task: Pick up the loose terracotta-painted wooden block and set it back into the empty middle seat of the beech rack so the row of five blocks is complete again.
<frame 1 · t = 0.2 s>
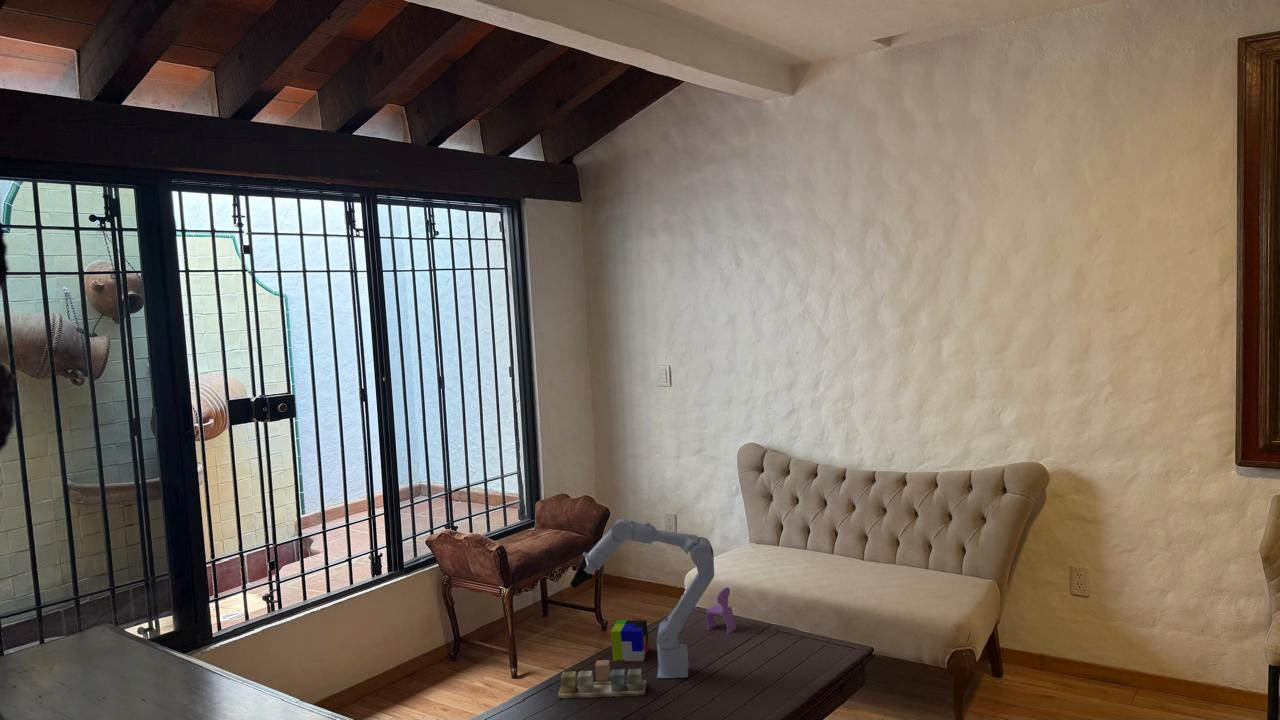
hand: (574, 582, 277), 30 cm above the table, tool tilted 45°, fingers open, 7 cm apart
toy chair: (721, 629, 310), on the table
rack: (602, 691, 267), on the table
puzzle toy: (631, 655, 293), on the table
terracotta block: (603, 678, 276), on the table
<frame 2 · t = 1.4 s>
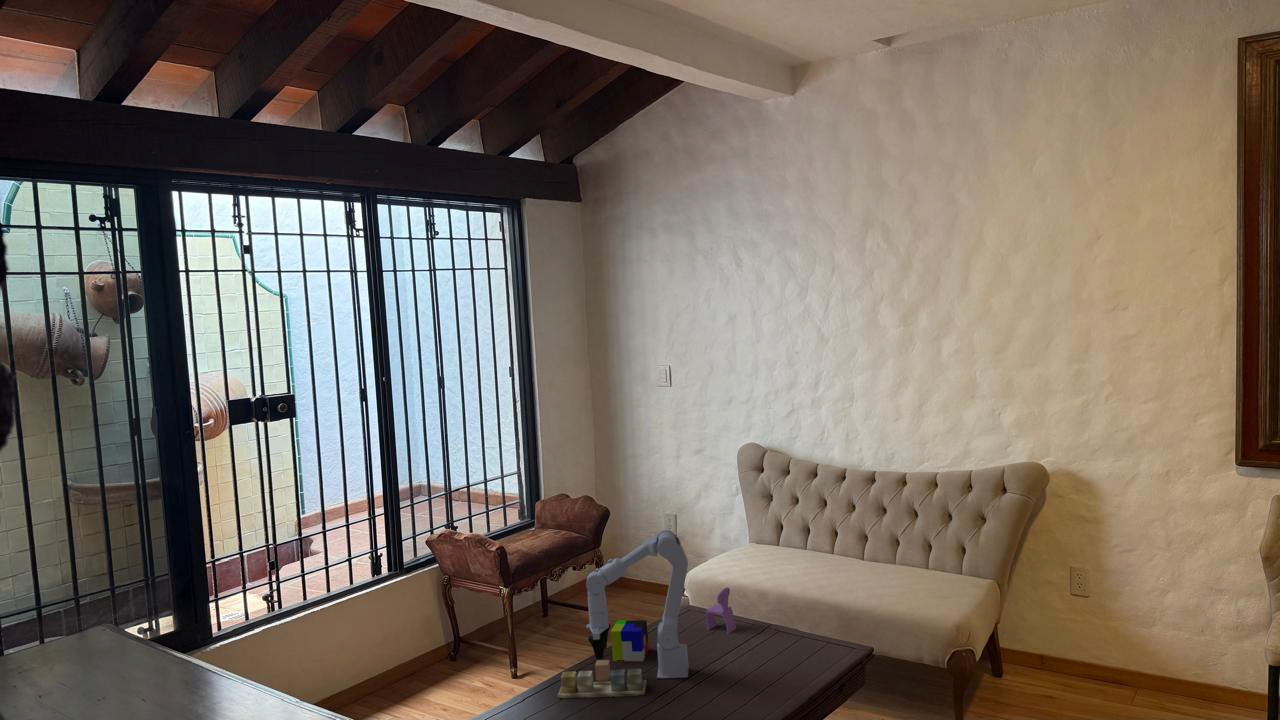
hand: (601, 653, 276), 8 cm above the table, tool pointing down, fingers open, 7 cm apart
nothing on the table moved.
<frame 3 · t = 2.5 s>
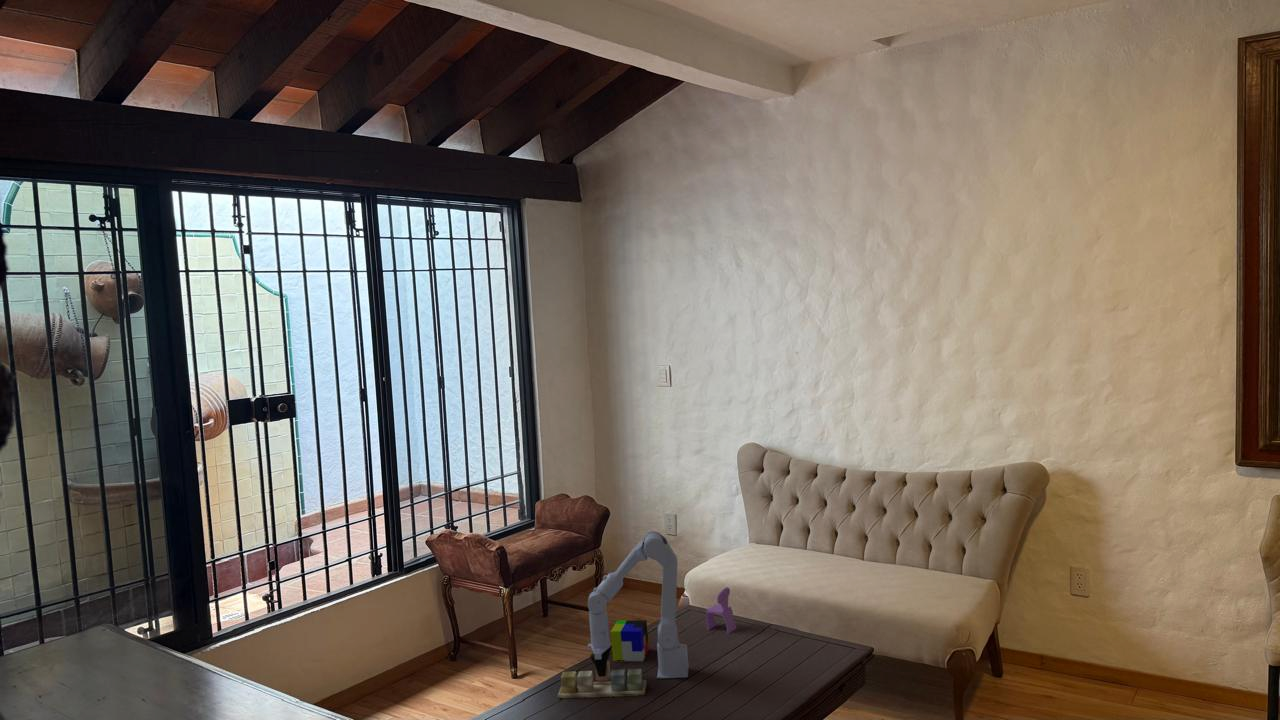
hand: (603, 673, 276), 2 cm above the table, tool pointing down, fingers closed on terracotta block, 4 cm apart
terracotta block: (603, 678, 276), on the table, touching gripper
everything else where it was.
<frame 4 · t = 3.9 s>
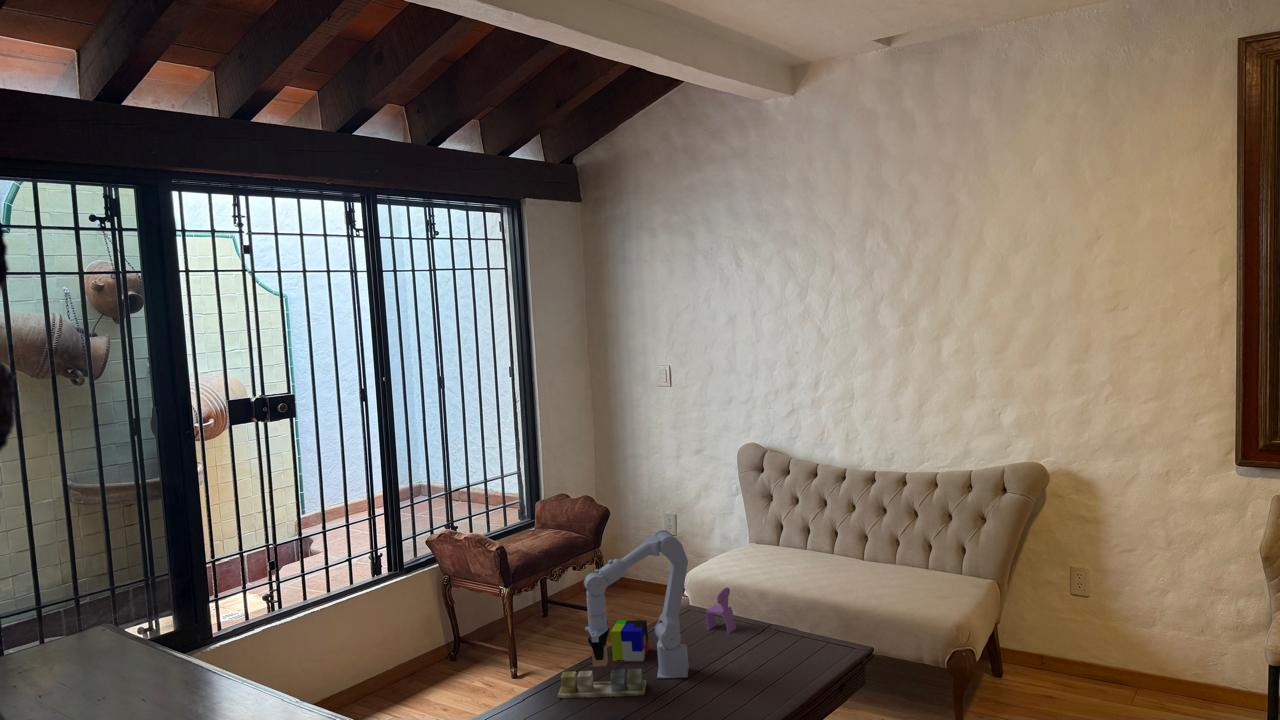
hand: (600, 656, 271), 9 cm above the table, tool pointing down, fingers closed on terracotta block, 4 cm apart
terracotta block: (600, 663, 271), point 7 cm above the table, touching gripper
everything else where it was.
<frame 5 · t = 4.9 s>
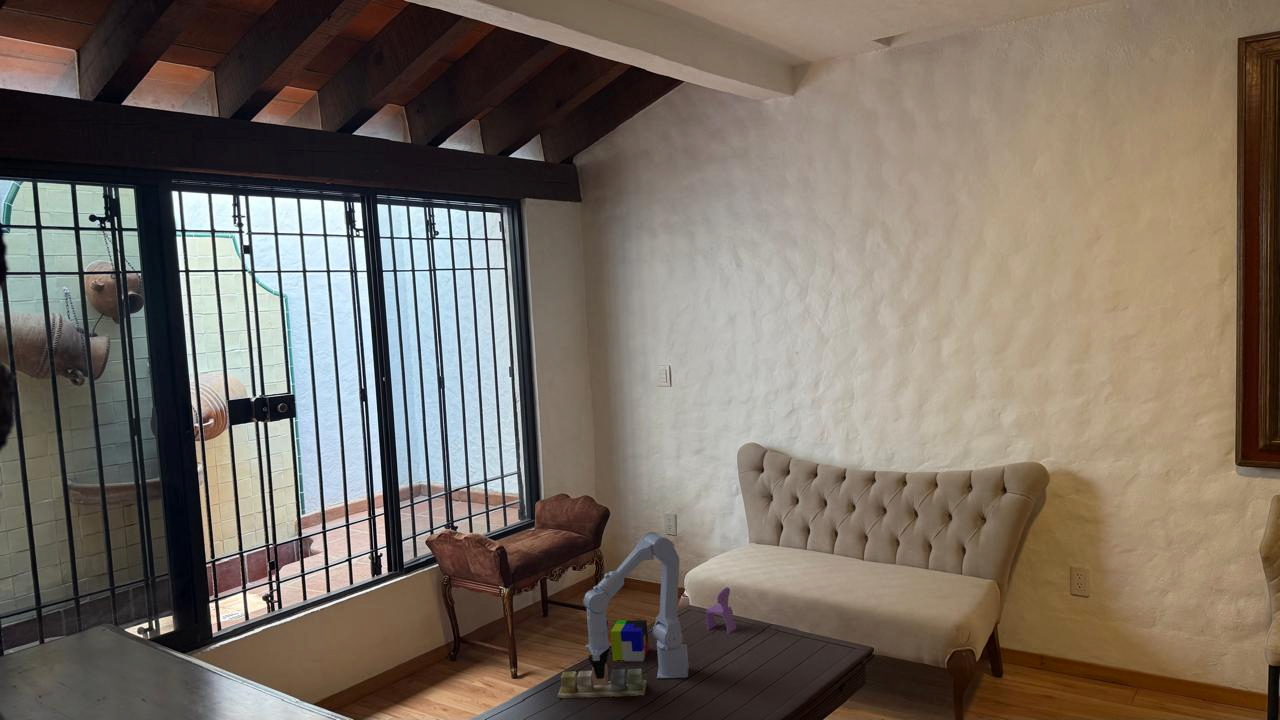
hand: (601, 674, 267), 5 cm above the table, tool pointing down, fingers closed on terracotta block, 4 cm apart
terracotta block: (600, 682, 267), point 3 cm above the table, touching gripper
everything else where it was.
when the fingers open (3 cm above the table, at t = 5.6 s): terracotta block stays where it is, resting on rack.
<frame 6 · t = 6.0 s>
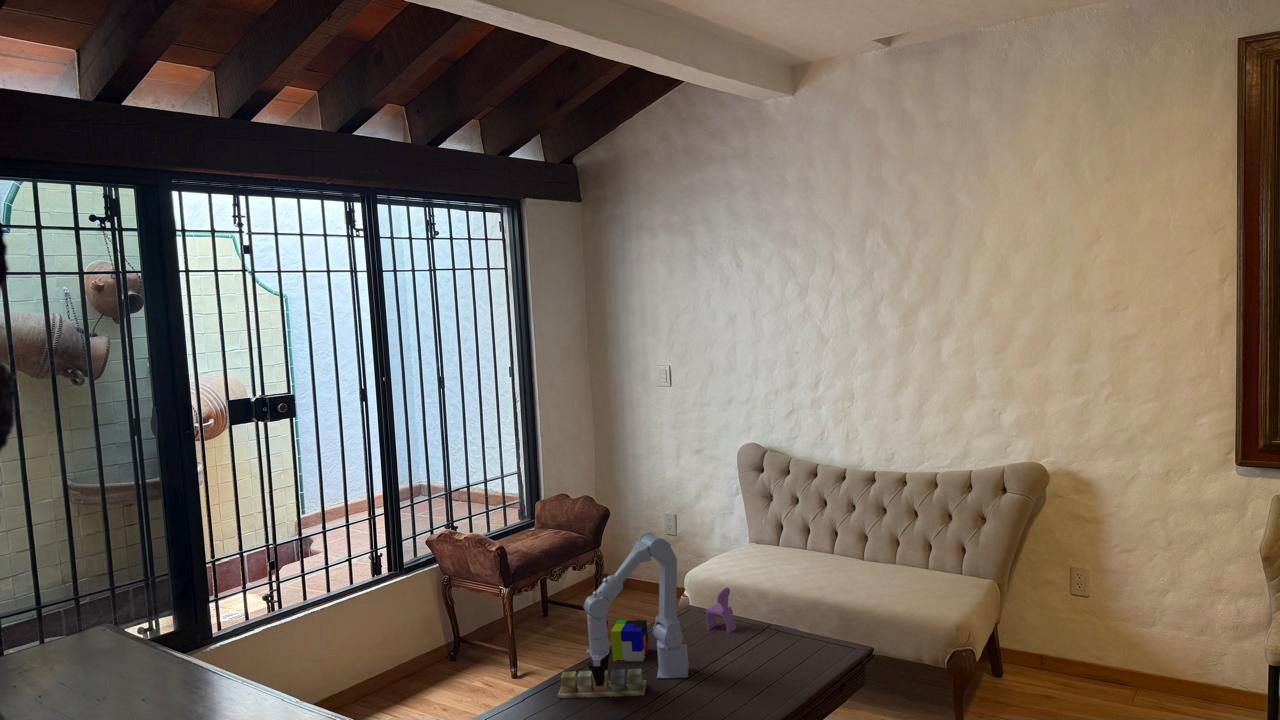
hand: (601, 680, 267), 3 cm above the table, tool pointing down, fingers open, 7 cm apart
terracotta block: (601, 689, 267), point 1 cm above the table, touching rack
everything else where it was.
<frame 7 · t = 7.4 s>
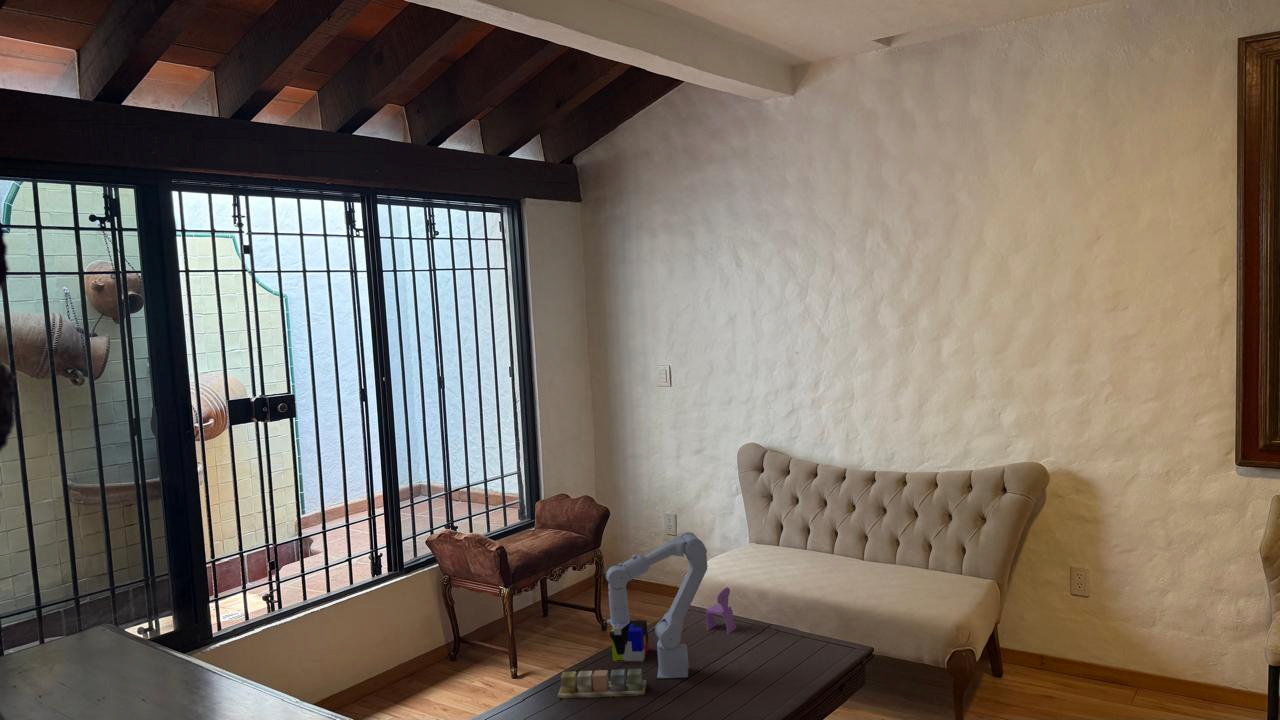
hand: (622, 649, 273), 10 cm above the table, tool pointing down, fingers open, 7 cm apart
nothing on the table moved.
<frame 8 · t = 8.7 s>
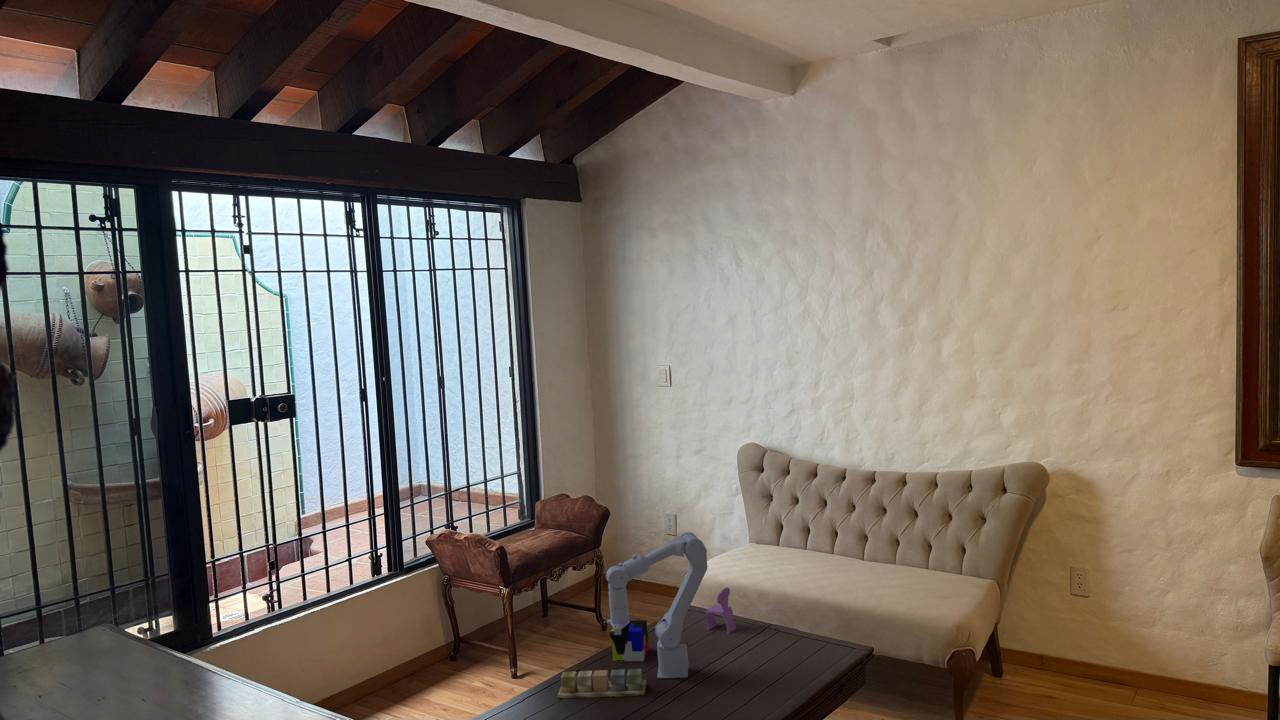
hand: (622, 649, 273), 10 cm above the table, tool pointing down, fingers open, 7 cm apart
nothing on the table moved.
at the end: terracotta block 0.3 cm off-centre on the rack, point 0.6 cm above the rack's base; terracotta block tilted 0°; the gripper is holding nothing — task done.
